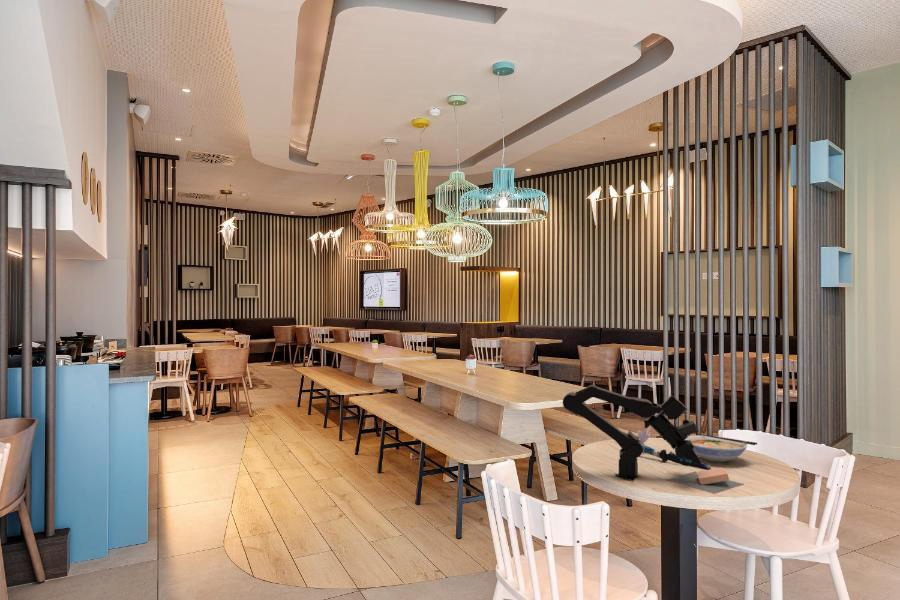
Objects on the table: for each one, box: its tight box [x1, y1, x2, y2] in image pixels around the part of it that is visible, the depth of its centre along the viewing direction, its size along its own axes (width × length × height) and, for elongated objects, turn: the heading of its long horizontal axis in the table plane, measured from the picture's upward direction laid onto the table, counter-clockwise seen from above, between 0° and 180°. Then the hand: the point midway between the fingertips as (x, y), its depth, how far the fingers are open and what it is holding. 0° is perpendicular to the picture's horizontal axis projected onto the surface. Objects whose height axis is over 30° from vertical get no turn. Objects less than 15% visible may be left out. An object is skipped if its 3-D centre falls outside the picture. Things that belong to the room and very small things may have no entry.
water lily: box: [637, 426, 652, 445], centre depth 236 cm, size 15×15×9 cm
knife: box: [642, 443, 712, 470], centre depth 218 cm, size 31×3×4 cm, turn 38°
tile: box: [695, 467, 730, 485], centre depth 192 cm, size 2×8×9 cm
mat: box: [664, 471, 745, 494], centre depth 193 cm, size 18×18×1 cm
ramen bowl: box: [685, 433, 758, 463], centre depth 224 cm, size 25×23×8 cm
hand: (700, 463), depth 193 cm, fingers closed
